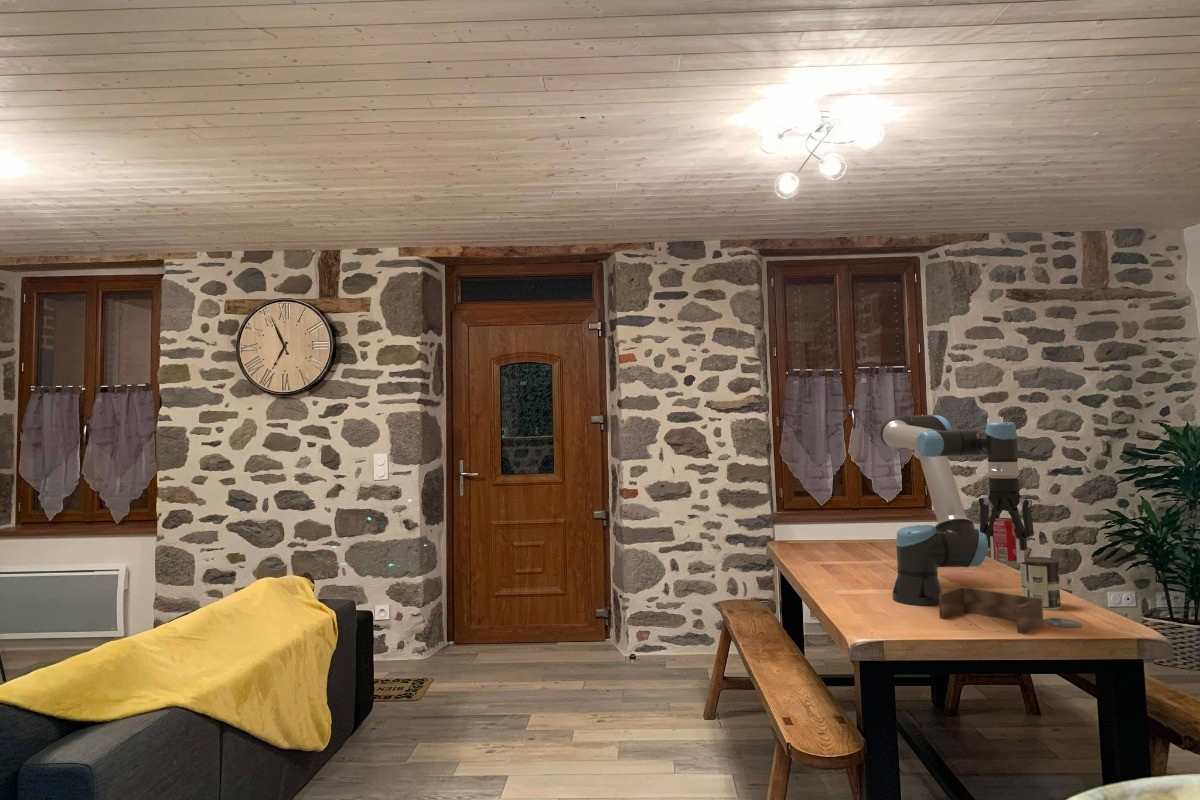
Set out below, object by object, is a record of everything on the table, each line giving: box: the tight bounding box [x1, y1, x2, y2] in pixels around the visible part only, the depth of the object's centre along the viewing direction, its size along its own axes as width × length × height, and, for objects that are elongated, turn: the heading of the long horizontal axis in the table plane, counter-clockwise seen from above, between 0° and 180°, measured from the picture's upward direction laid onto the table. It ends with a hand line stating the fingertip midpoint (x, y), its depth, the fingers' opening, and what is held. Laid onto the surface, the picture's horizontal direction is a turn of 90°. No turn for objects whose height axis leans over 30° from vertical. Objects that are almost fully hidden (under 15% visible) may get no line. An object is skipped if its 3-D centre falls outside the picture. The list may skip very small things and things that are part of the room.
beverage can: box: [993, 517, 1018, 564], centre depth 206 cm, size 6×6×12 cm
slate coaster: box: [1043, 617, 1083, 629], centre depth 203 cm, size 9×9×1 cm
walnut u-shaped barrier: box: [938, 586, 1044, 635], centre depth 207 cm, size 22×14×7 cm, turn 39°
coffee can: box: [1019, 556, 1062, 611], centre depth 224 cm, size 10×10×14 cm
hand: (1007, 560), depth 205 cm, fingers closed on beverage can, 6 cm apart
